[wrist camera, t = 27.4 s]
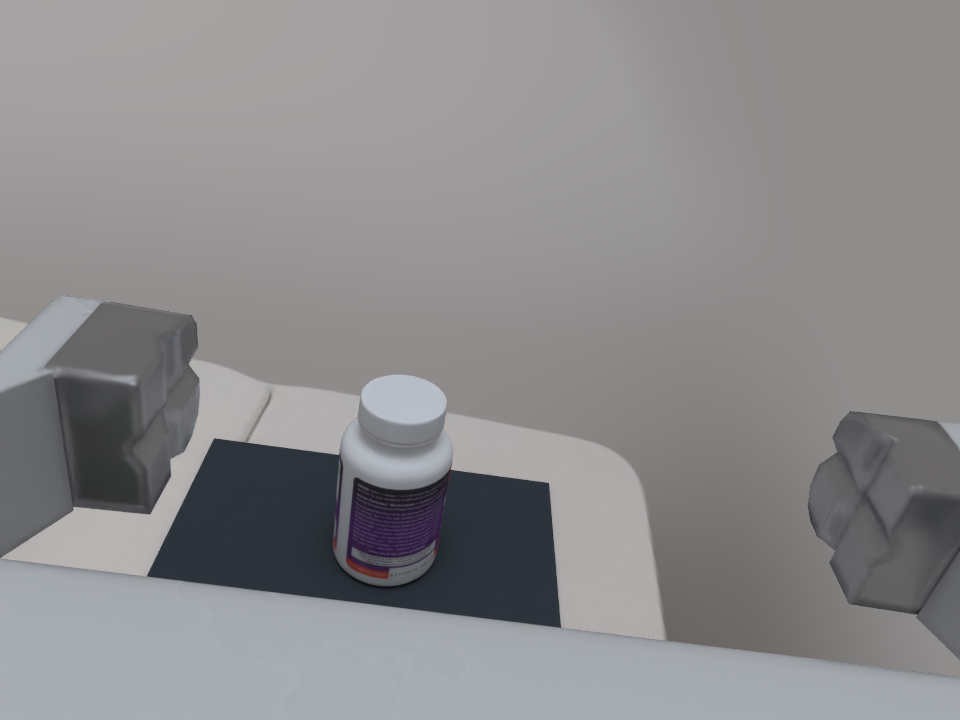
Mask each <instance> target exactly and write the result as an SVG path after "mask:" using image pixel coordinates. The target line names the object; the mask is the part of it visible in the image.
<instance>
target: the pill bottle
mask: <svg viewBox="0 0 960 720" xmlns="http://www.w3.org/2000/svg"><path fill="white" fill-rule="evenodd" d="M446 408H447V401H446V397H445V395H444V394H443V392H442V391H441V390H440V389H439V388H438V387H437V386H435V385H434V384H432V383H430V382H428V381H426V380H424V379H421V378H418V377H414V376H409V375H388V376H383V377H380V378H377V379H374V380H372V381H371V382H369V383H368V384H367V385H366V386H365V387H364V388H363V390H362V392H361V397H360V404H359V411H358V418H356V419H355V420H354V421H353V422H352V423H351V424H350V425H349V426H348V427H347V428H346V430H345V432H344V434H343V436H342V439H341V446H340V454H339V468H338V479H337V492H336V505H335V517H334V532H333V549H334V554H335V557H336V559H337V561H338V563H339V564H340V566H341V567H342V568H343V569H344V570H345V571H346V572H347V573H348V574H350V575H351V576H353V577H354V578H356V579H358V580H360V581H362V582H365V583H368V584H372V585H377V586H397V585H402V584H405V583H408V582H411V581H413V580H415V579H417V578H419V577H420V576H421V575H423V574H424V573H425V572H426V571H427V570H428V569H429V568H430V566H431V565H432V563H433V561H434V558H435V556H436V551H437V547H438V542H439V536H440V529H441V523H442V517H443V511H444V505H445V499H446V494H447V487H448V482H449V476H450V471H451V466H452V457H453V447H452V442H451V439H450V437H449V435H448V434H447V432H446V431H445V430H444V428H443V427H444V424H445V415H446Z"/></svg>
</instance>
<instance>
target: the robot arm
mask: <svg viewBox="0 0 960 720" xmlns="http://www.w3.org/2000/svg"><path fill="white" fill-rule="evenodd" d="M197 349H198V339H197V325H196V322H195V320H194V319H193V317H192V315H187V314H181V313H175V312H169V311H163V310H157V309H150V308H144V307H138V306H132V305H126V304H120V303H114V302H106V301H104V300H97V299H89V298H81V297H73V296H58V297H56V298H55V299H54V300H53V301H52V302H51V303H50V304H49V305H48V306H47V307H46V308H45V309H44V310H43V311H42V312H41V313H40V314H39V315H38V316H37V317H36V318H34V319H33V320H32V321H31V322H30V323H29V324H28V325H27V326H26V327H25V328H24V329H23V330H22V331H21V332H20V333H19V334H18V335H17V336H16V337H15V338H14V339H13V340H12V341H11V342H10V343H9V344H8V345H7V346H6V347H5V348H4V349H3V350H2V351H1V352H0V558H1V557H3V556H4V555H6V554H7V553H9V552H10V551H12V550H13V549H15V548H16V547H18V546H19V545H21V544H23V543H24V542H26V541H27V540H29V539H30V538H32V537H33V536H35V535H36V534H38V533H39V532H41V531H43V530H44V529H46V528H47V527H49V526H50V525H52V524H53V523H55V522H56V521H58V520H59V519H61V518H63V517H64V516H66V515H67V514H69V513H70V512H72V511H73V507H81V508H91V509H101V510H111V511H121V512H131V513H140V514H151V512H152V510H153V508H154V506H155V504H156V503H157V501H158V499H159V497H160V495H161V493H162V492H163V490H164V488H165V486H166V484H167V482H168V481H169V479H170V477H171V470H170V459H171V458H173V457H175V456H177V455H179V454H181V453H183V452H184V451H185V449H186V447H187V445H188V443H189V441H190V439H191V437H192V434H193V430H194V426H195V423H196V419H197V415H198V407H199V397H200V388H199V378H198V376H197V375H196V374H195V372H194V371H193V370H192V369H191V367H190V366H189V365H188V364H189V362H190V360H191V359H192V357H193V355H194V354H195V352H196V350H197ZM833 440H834V443H835V447H836V450H837V453H836V454H834V455H833V456H831V457H830V458H828V459H827V460H825V461H824V462H822V463H821V464H819V466H818V468H817V471H816V473H815V475H814V477H813V480H812V482H811V484H810V492H809V501H808V509H809V515H810V521H811V523H812V526H813V528H814V530H815V532H816V535H817V536H818V537H819V538H820V539H821V540H822V541H824V542H825V543H826V544H827V545H829V546H830V547H831V548H832V549H833V550H835V552H834V554H833V556H832V558H831V560H830V565H831V567H832V569H833V571H834V573H835V575H836V577H837V580H838V582H839V584H840V586H841V588H842V590H843V592H844V594H845V597H846V599H847V601H848V603H849V604H852V605H859V606H865V607H872V608H878V609H885V610H891V611H897V612H904V613H911V614H917V617H916V618H917V619H918V620H919V621H921V623H922V624H923V625H924V626H925V627H926V628H928V630H930V631H931V632H932V633H933V634H934V635H935V636H936V637H937V638H938V639H939V640H940V641H941V642H942V643H943V644H944V645H945V646H946V647H947V648H948V649H949V650H950V651H951V652H952V653H953V654H954V655H955V656H956V657H957V658H958V659H960V423H950V422H941V421H931V420H922V419H914V418H905V417H896V416H887V415H880V414H871V413H863V412H851V411H850V412H849V413H848V414H847V415H846V416H845V417H844V418H843V419H842V420H841V421H840V423H839V425H838V427H837V429H836V431H835V433H834V435H833ZM0 720H960V677H955V676H947V675H940V674H931V673H924V672H916V671H907V670H898V669H891V668H883V667H875V666H867V665H859V664H850V663H842V662H834V661H826V660H818V659H809V658H802V657H793V656H785V655H777V654H769V653H761V652H753V651H745V650H736V649H729V648H720V647H712V646H704V645H696V644H688V643H680V642H671V641H663V640H655V639H647V638H639V637H631V636H623V635H615V634H607V633H599V632H591V631H582V630H574V629H566V628H558V627H550V626H542V625H534V624H526V623H518V622H510V621H501V620H493V619H485V618H477V617H469V616H461V615H453V614H445V613H437V612H429V611H420V610H412V609H404V608H396V607H388V606H380V605H372V604H364V603H356V602H348V601H340V600H331V599H323V598H315V597H307V596H299V595H291V594H283V593H275V592H267V591H259V590H250V589H242V588H234V587H226V586H218V585H210V584H202V583H194V582H186V581H178V580H169V579H161V578H153V577H145V576H137V575H129V574H121V573H113V572H105V571H97V570H88V569H80V568H72V567H64V566H56V565H48V564H40V563H32V562H24V561H16V560H7V559H0Z"/></svg>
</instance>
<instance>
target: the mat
mask: <svg viewBox="0 0 960 720" xmlns="http://www.w3.org/2000/svg"><path fill="white" fill-rule="evenodd" d="M338 468H339V455H334V454H327V453H319V452H312V451H304V450H297V449H289V448H282V447H274V446H267V445H259V444H252V443H244V442H237V441H229V440H222V439H214V440H213V442H212V444H211V446H210V448H209V450H208V452H207V454H206V456H205V458H204V460H203V463H202V465H201V467H200V469H199V471H198V473H197V475H196V477H195V479H194V481H193V483H192V485H191V487H190V489H189V491H188V493H187V495H186V497H185V499H184V501H183V503H182V506H181V508H180V510H179V512H178V514H177V516H176V518H175V520H174V522H173V524H172V526H171V528H170V530H169V532H168V534H167V536H166V538H165V540H164V542H163V544H162V546H161V549H160V551H159V553H158V555H157V557H156V559H155V561H154V563H153V565H152V567H151V569H150V571H149V573H148V575H147V577H153V578H161V579H169V580H178V581H186V582H194V583H202V584H210V585H218V586H226V587H234V588H242V589H250V590H259V591H267V592H275V593H283V594H291V595H299V596H307V597H315V598H323V599H331V600H340V601H348V602H356V603H364V604H372V605H380V606H388V607H396V608H404V609H412V610H420V611H429V612H437V613H445V614H453V615H461V616H469V617H477V618H485V619H493V620H501V621H510V622H518V623H526V624H534V625H542V626H550V627H558V628H561V624H560V612H559V600H558V588H557V576H556V564H555V552H554V540H553V528H552V516H551V504H550V492H549V483H544V482H537V481H529V480H522V479H514V478H507V477H499V476H492V475H484V474H477V473H469V472H462V471H454V470H451V471H450V476H449V482H448V487H447V494H446V499H445V505H444V511H443V517H442V523H441V529H440V536H439V542H438V547H437V551H436V556H435V558H434V561H433V563H432V565H431V566H430V568H429V569H428V570H427V571H426V572H425V573H424V574H423V575H421V576H420V577H419V578H417V579H415V580H413V581H411V582H408V583H405V584H402V585H397V586H377V585H372V584H368V583H365V582H362V581H360V580H358V579H356V578H354V577H353V576H351V575H350V574H348V573H347V572H346V571H345V570H344V569H343V568H342V567H341V566H340V564H339V563H338V561H337V559H336V557H335V554H334V549H333V532H334V517H335V505H336V492H337V479H338Z"/></svg>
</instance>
